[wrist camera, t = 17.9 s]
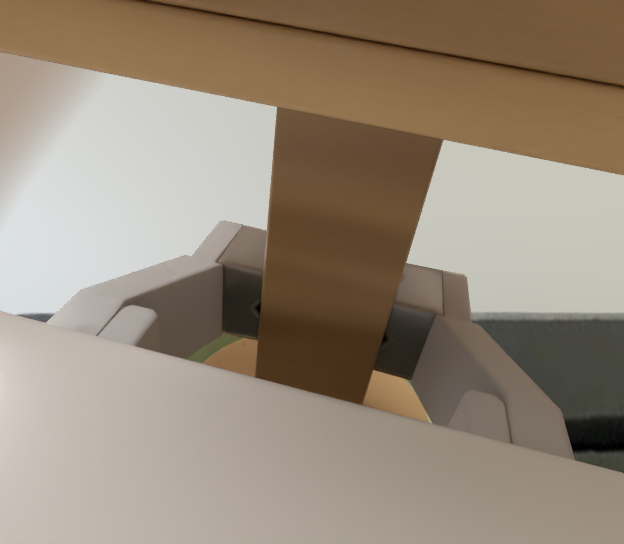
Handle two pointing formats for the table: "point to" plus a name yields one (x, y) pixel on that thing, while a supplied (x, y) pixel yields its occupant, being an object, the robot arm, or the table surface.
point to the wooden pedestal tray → (356, 134)
